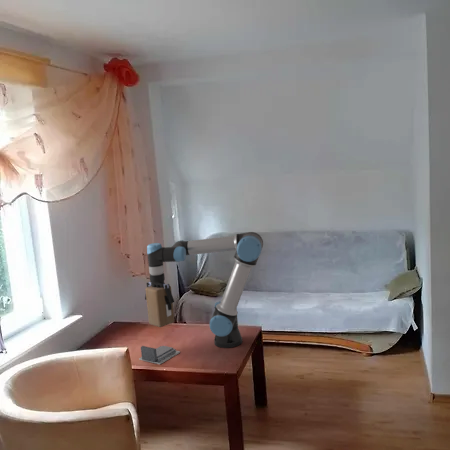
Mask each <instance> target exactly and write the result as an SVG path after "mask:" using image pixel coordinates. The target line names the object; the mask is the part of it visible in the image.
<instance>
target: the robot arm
mask: <svg viewBox="0 0 450 450" xmlns="http://www.w3.org/2000/svg"><path fill="white" fill-rule="evenodd" d="M263 246H264V239H263V238H262V236H261V235H260V234H259V233H257V232H254V231H248V232H241V233H236V234H235V235H234V236H233V235H232V236H221V237H214V238H204V239H195V240H183V239H182V240H177V241H176V242H174V244H173V245H172V246H168V247H167V246H162V243H159V242H153V243H149V244H147V246H146V251H147V252H146V253H147V261H148V272H149V281H148V282H146V288H147V287H150V286H152V287H157V288H163V287H164V288H165V291H166V294H167V296H165V301H166V303H167V304H166V312H167V317H168V316H171V309H172V306H171V303H173V304H174V303H175V299H174V296H173V293H171V291H172V289H171V290H170V286H171V285H170V284H169V283H165V278H166V277H165V273H164V272H165V269H164V263H169V262H170V263H173V262H174V263H180V262H184V261H186V258H187V256H192V255H193V256H194V255H203V254H212V253H222V252H223V253H224V252H233V251H235V253H234V256H233V259H234V261H235V262H234V265H233V268H232V270H231V273H230V276H229V278H228V282H227V284H226V287H225V289H224V292H223V295H222V298H221V300H220V301H217V302H215V303H214V311H213V314H212V317H211V318H210V320H209V329H210V331H211V333H213V335H214V340H213V341H214V345H215V346H216V347H219V348H224V349H229V348H230V349H231V348H235V347H238V346H240V345H241V344H242V343H243V336H242V335H241V331H240V330H239V322H238V311H237V308H238V306H239V303H240V300H241V297H242V295H243V292H244V289H245V287H246V284H247V281H248V278H249V275H250V273H251V270H252V268H253V267H256V265H257V263H258V260H259V257H260V256H261V253H262V250H263ZM144 300H146V301H147V299H146V294H145V296H144ZM168 301H169V302H168Z"/></svg>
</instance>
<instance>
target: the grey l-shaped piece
mask: <svg viewBox="0 0 450 450" xmlns="http://www.w3.org/2000/svg"><path fill="white" fill-rule="evenodd" d="M180 353H181V351H179V350H176V348H174V347H172V346H168V345H160V346H159V347H156V348H155V347H150V346H145V345H141V346H140V354H141V357H139V358H138V359H139V361H143V362H148V363H151V364H156V365H161V364H163V363H165V362H166V361H168V360H170V359H173V358H174V357H175V356H177V355H178V354H180Z"/></svg>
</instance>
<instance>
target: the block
mask: <svg viewBox="0 0 450 450" xmlns="http://www.w3.org/2000/svg"><path fill="white" fill-rule="evenodd" d="M170 290H171V293H172V287H171V285H170ZM172 294H173V293H172ZM145 295H146V299H147V300H146V305H147V306H146V307H147V308H146V309H147V315H148V316H147V318H148V324H149V325H150V326H151V325H152V326H155V327H158V328H162V327H165V326H167V325H170V324H172V323H175V316H174V315H175V314H174V313H175V312H174V302H173V303H171V306H172V309H171V316H168V317H167V312H166V304H167V303H166V301H165V296H167V294H166V291H165V288H164V287H163V288H157V287H152V286H150V287H147V286H146V287H145ZM168 302H169V301H168Z"/></svg>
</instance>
